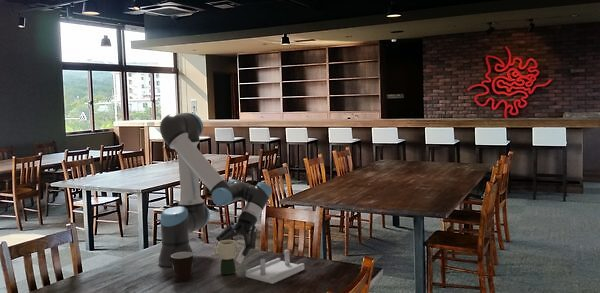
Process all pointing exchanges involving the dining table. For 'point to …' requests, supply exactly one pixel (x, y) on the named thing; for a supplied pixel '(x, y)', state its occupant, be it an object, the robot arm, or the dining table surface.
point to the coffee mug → (182, 266)
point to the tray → (274, 269)
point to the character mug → (227, 255)
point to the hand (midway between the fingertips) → (225, 259)
